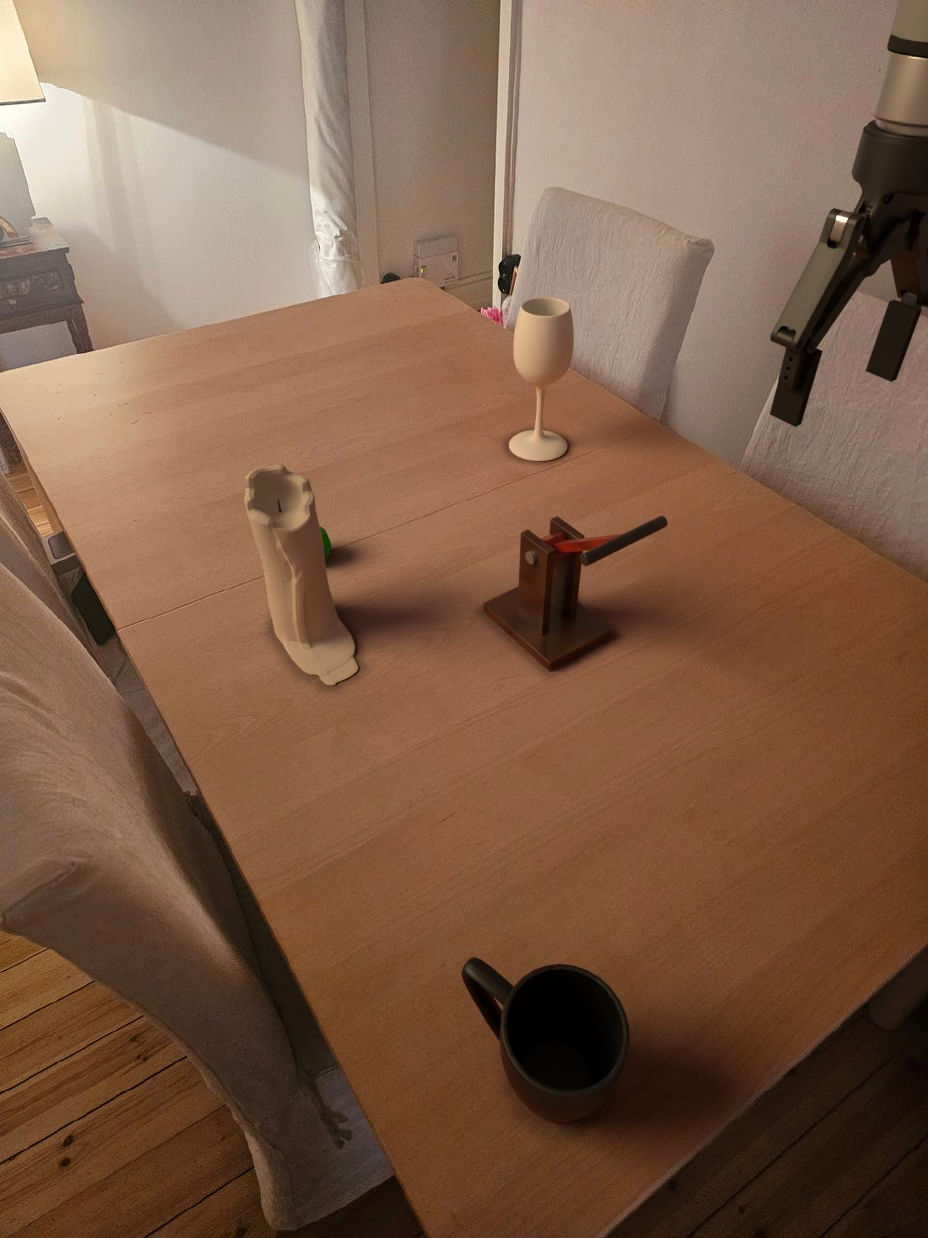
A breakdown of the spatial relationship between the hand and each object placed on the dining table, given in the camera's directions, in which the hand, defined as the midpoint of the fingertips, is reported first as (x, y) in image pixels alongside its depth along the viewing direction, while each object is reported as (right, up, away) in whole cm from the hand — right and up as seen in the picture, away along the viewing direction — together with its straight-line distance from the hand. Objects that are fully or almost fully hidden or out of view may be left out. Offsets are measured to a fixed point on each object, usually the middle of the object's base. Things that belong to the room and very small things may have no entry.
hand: (834, 396), depth 73 cm
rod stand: (-24, -20, +21) cm, 37 cm away
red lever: (-21, -14, +9) cm, 26 cm away
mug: (-28, -52, -13) cm, 61 cm away
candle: (-49, -23, +19) cm, 57 cm away
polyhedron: (-52, -12, +30) cm, 61 cm away
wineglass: (-22, +6, +49) cm, 54 cm away
